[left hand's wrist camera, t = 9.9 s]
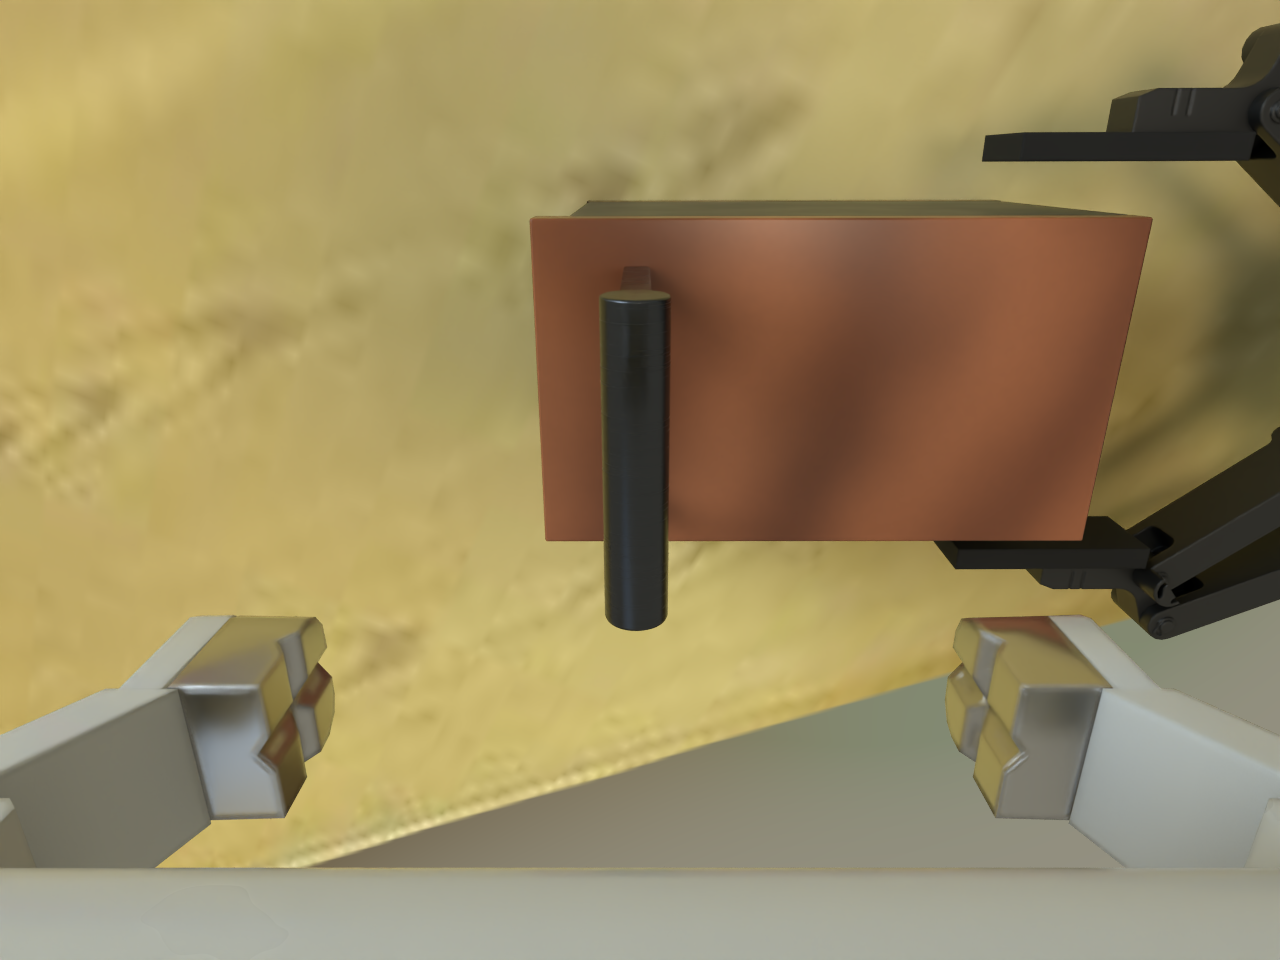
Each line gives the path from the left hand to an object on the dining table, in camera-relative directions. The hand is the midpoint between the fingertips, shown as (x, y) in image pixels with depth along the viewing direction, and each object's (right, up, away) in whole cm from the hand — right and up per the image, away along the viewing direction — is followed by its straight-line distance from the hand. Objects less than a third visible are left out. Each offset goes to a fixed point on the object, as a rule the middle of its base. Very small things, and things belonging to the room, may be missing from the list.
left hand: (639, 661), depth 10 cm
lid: (+5, +5, +13) cm, 15 cm away
